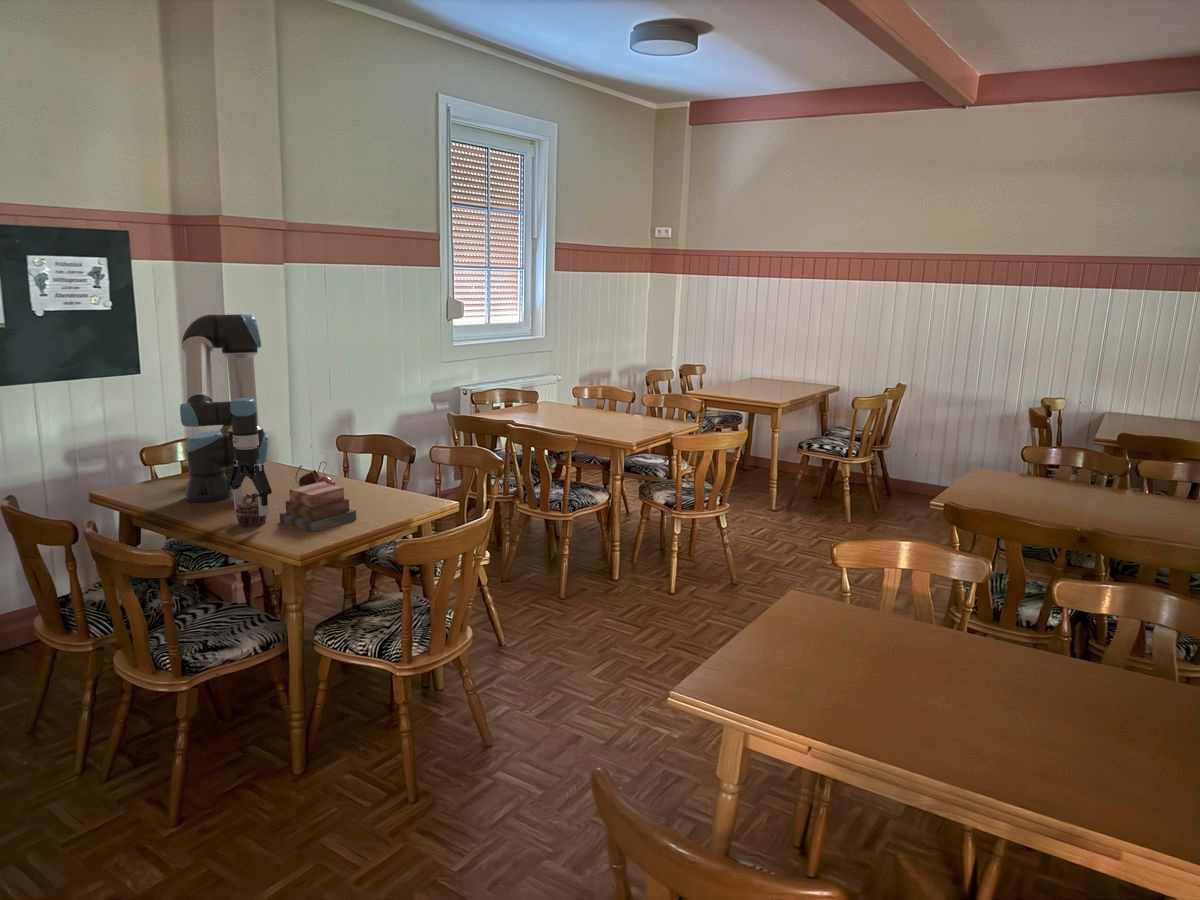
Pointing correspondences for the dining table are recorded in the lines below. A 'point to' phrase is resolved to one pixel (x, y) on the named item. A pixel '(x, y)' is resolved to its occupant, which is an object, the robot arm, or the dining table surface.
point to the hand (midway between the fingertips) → (251, 511)
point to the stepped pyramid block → (317, 507)
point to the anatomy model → (314, 478)
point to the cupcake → (249, 512)
